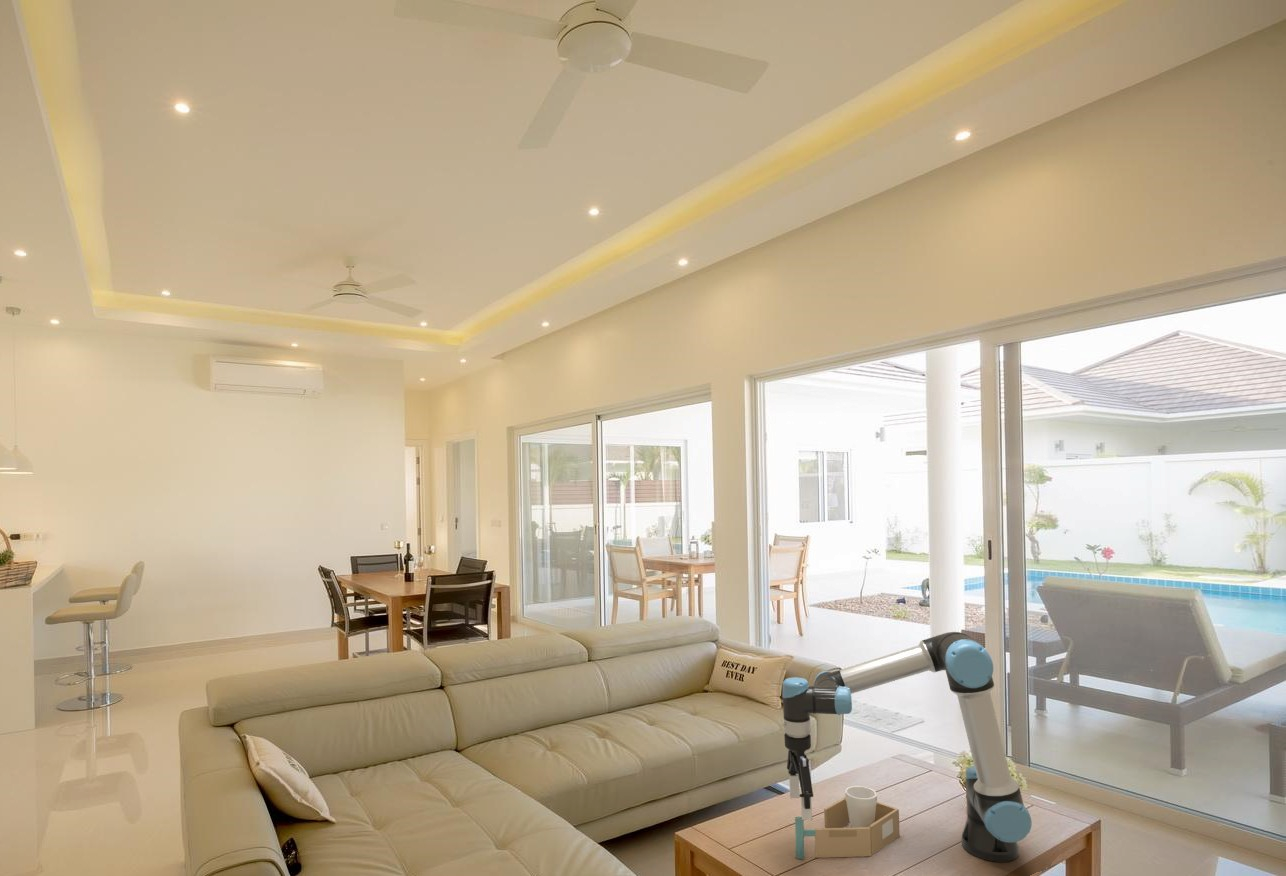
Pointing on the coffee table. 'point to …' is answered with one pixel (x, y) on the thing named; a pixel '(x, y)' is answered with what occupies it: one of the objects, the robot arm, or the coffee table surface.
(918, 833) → the coffee table surface
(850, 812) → the foam cup
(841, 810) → the carton
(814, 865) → the coffee table surface
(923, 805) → the coffee table surface
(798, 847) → the teal-tan flat piece
